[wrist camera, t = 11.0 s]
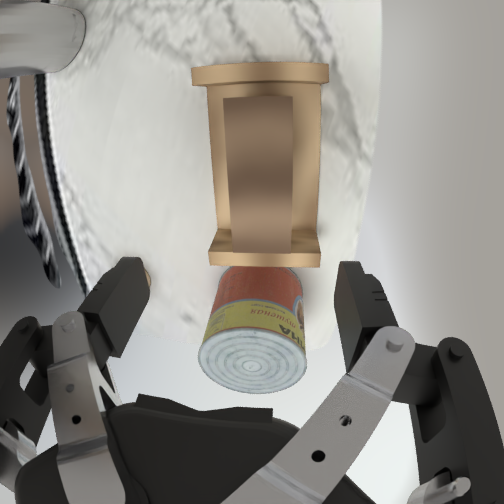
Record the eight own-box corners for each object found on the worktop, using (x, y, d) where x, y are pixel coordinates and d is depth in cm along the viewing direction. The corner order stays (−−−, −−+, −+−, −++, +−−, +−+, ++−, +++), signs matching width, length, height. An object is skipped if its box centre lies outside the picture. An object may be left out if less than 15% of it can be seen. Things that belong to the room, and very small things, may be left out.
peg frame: (220, 237, 34) (209, 265, 29) (208, 72, 25) (191, 67, 20) (314, 238, 33) (319, 267, 28) (318, 69, 24) (328, 63, 19)
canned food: (304, 321, 40) (308, 391, 30) (228, 326, 42) (213, 393, 32) (299, 254, 35) (304, 325, 24) (209, 262, 37) (183, 331, 26)
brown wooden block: (231, 97, 22) (222, 98, 19) (290, 96, 22) (292, 96, 18) (239, 231, 29) (233, 252, 25) (289, 232, 28) (290, 253, 25)
